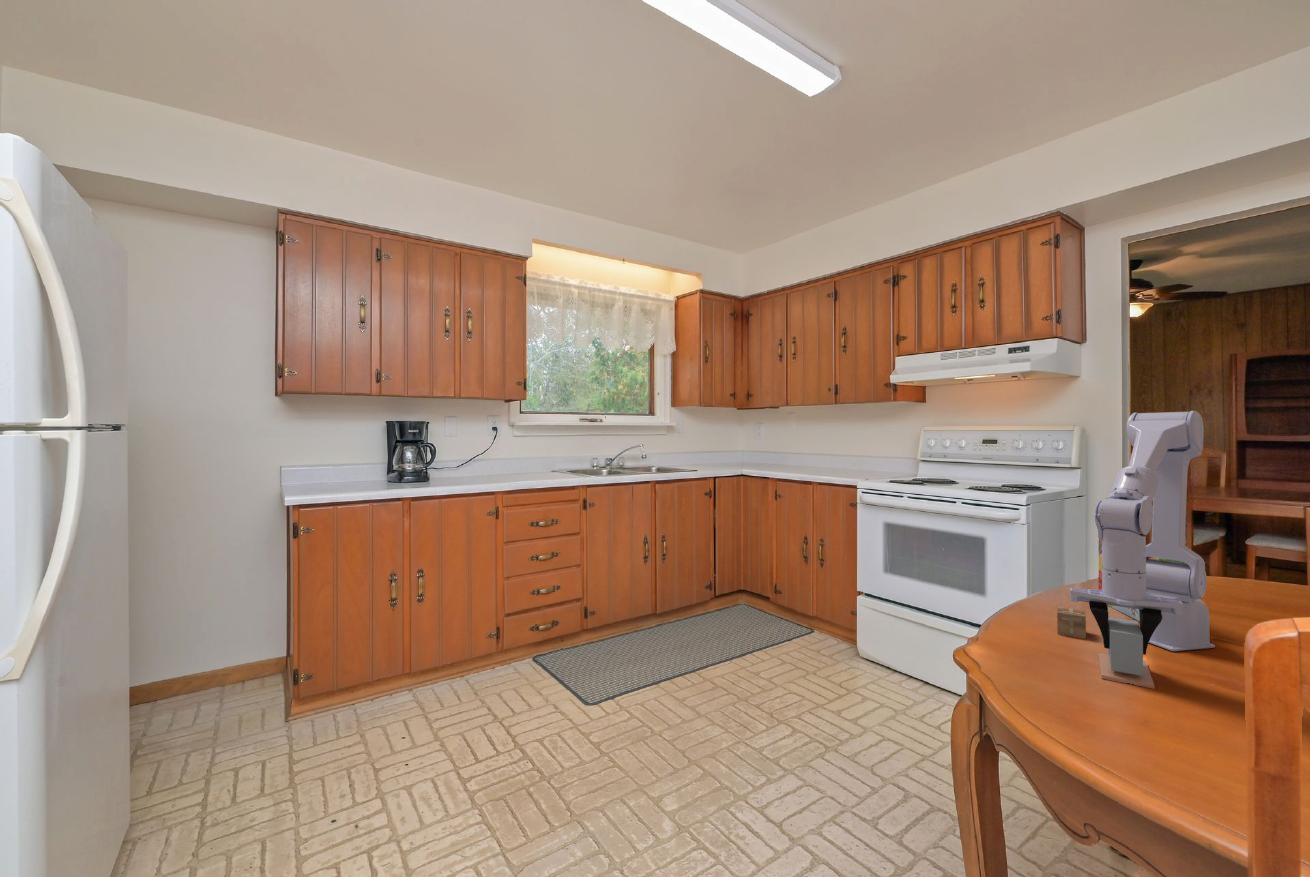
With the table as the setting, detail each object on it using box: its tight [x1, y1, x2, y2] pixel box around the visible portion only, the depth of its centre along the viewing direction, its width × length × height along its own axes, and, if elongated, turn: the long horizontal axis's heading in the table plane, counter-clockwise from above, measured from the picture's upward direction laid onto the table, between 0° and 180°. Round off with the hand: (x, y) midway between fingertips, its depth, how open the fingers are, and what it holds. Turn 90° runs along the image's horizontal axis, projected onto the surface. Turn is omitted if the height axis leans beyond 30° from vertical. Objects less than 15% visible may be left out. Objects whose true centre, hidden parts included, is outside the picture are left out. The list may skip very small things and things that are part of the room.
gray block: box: [1107, 616, 1144, 676], centre depth 94 cm, size 4×8×6 cm, turn 144°
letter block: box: [1056, 606, 1087, 639], centre depth 112 cm, size 5×4×5 cm
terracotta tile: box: [1097, 652, 1155, 690], centre depth 94 cm, size 11×6×1 cm, turn 144°
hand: (1124, 649), depth 94 cm, fingers closed on gray block, 4 cm apart
